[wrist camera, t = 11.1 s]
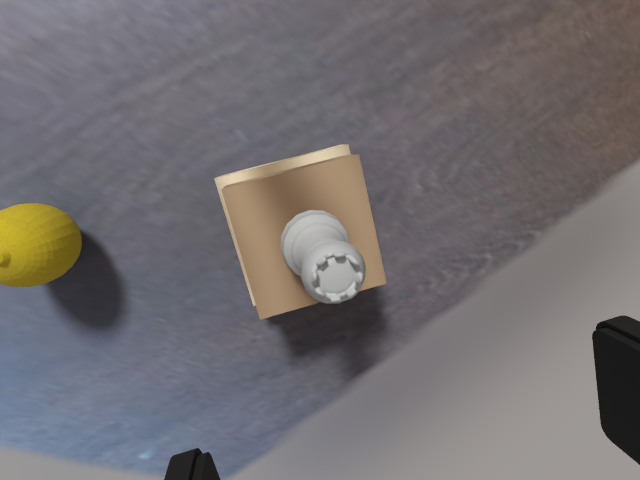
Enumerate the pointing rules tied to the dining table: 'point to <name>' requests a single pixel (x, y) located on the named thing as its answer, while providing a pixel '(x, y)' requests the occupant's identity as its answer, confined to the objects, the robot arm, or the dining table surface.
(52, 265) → the lemon
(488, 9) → the dining table surface
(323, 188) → the tan top block
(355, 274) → the rook chess piece
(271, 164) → the beech base block
